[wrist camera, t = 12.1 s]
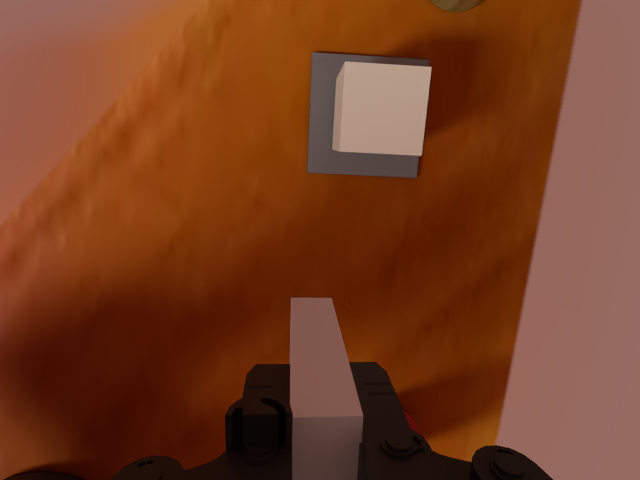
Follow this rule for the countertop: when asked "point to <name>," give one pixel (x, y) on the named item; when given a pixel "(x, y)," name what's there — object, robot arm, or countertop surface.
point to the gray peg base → (323, 123)
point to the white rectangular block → (381, 108)
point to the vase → (456, 4)
